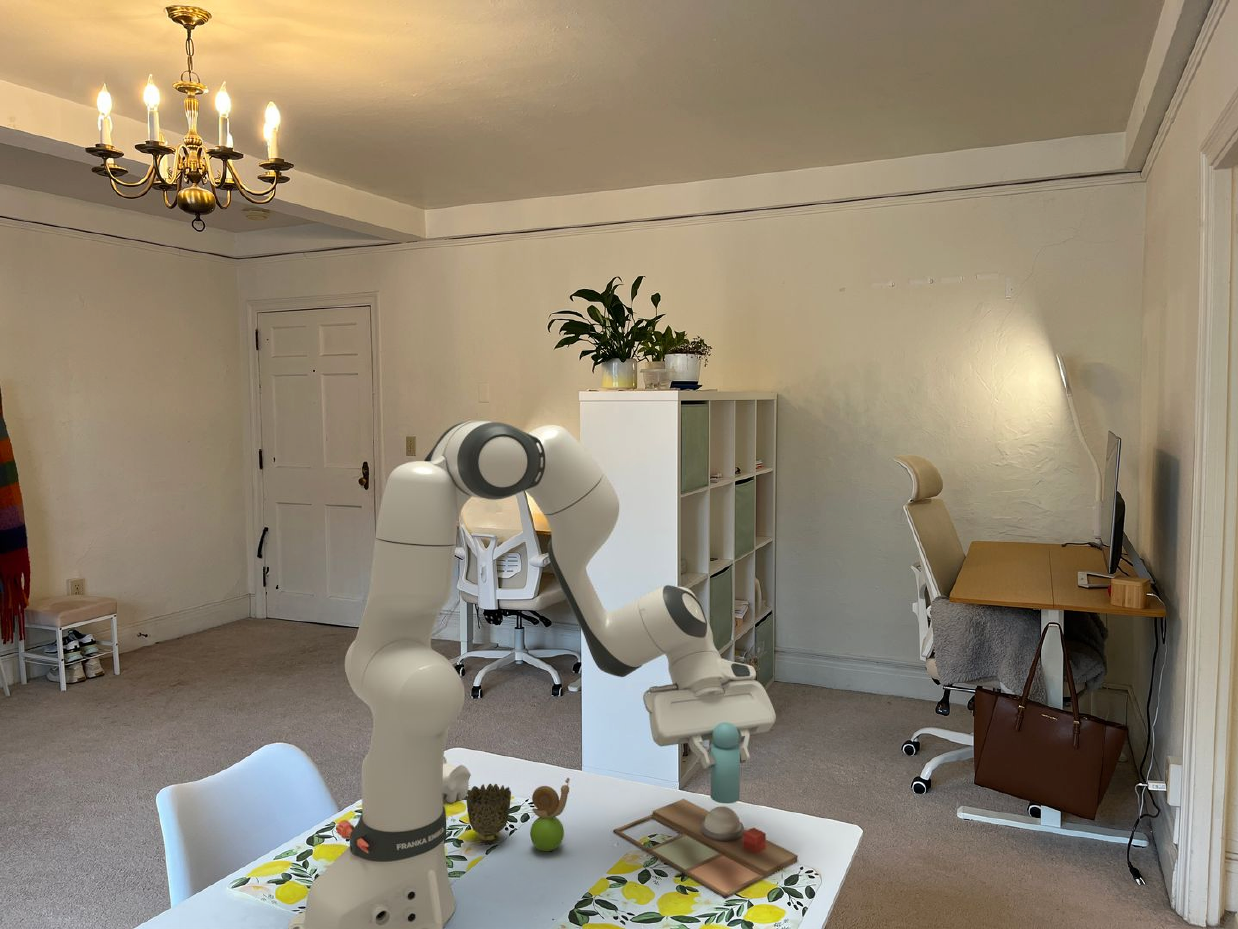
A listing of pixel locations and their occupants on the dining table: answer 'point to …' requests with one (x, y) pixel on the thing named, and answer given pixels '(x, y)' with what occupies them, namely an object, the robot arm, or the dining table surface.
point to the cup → (488, 811)
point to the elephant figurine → (455, 781)
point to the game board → (714, 847)
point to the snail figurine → (548, 817)
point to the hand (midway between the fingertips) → (727, 764)
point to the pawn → (725, 764)
